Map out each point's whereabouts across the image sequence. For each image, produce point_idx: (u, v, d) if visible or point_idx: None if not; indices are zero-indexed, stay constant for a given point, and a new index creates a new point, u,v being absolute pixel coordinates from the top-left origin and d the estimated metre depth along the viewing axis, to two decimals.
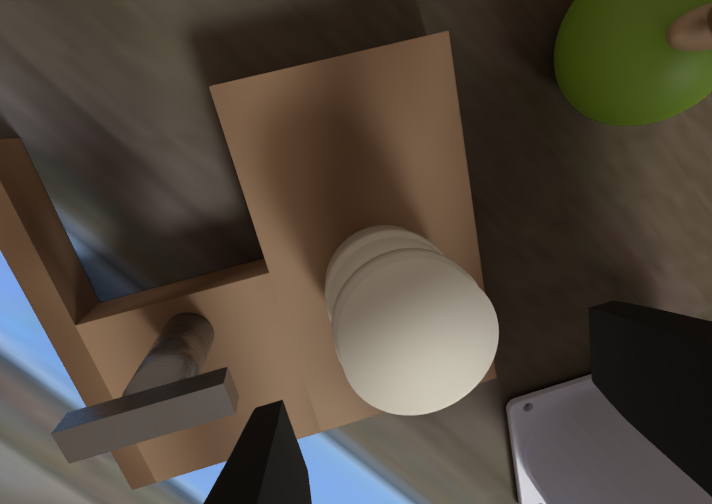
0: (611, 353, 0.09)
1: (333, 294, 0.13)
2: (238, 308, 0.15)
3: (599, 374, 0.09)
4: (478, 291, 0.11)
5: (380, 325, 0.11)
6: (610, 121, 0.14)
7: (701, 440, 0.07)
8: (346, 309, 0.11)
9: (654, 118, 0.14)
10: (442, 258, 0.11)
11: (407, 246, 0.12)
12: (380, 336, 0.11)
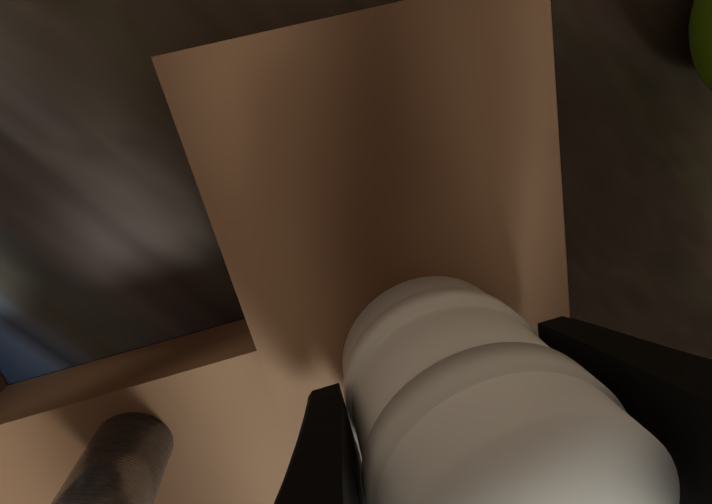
0: None
1: (361, 406, 0.08)
2: (210, 403, 0.10)
3: None
4: (653, 445, 0.06)
5: None
6: None
7: None
8: (396, 474, 0.06)
9: None
10: (569, 368, 0.06)
11: (491, 332, 0.07)
12: None
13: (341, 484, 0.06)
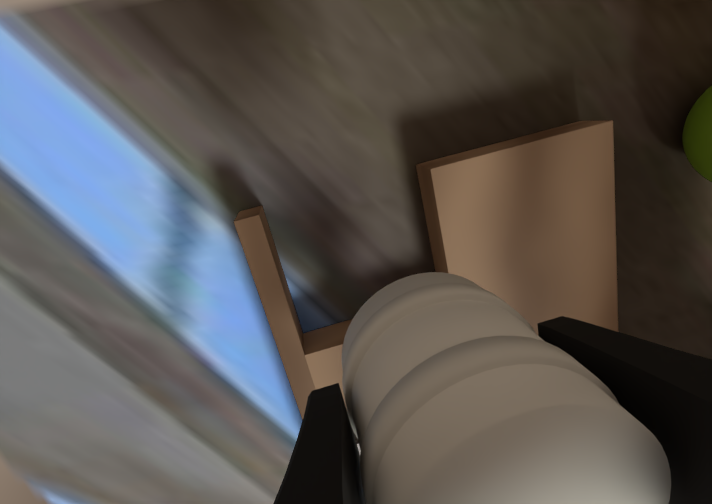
0: None
1: (359, 401, 0.08)
2: None
3: None
4: (643, 434, 0.06)
5: None
6: None
7: None
8: (391, 466, 0.06)
9: None
10: (561, 360, 0.06)
11: (486, 327, 0.07)
12: None
13: (340, 484, 0.06)
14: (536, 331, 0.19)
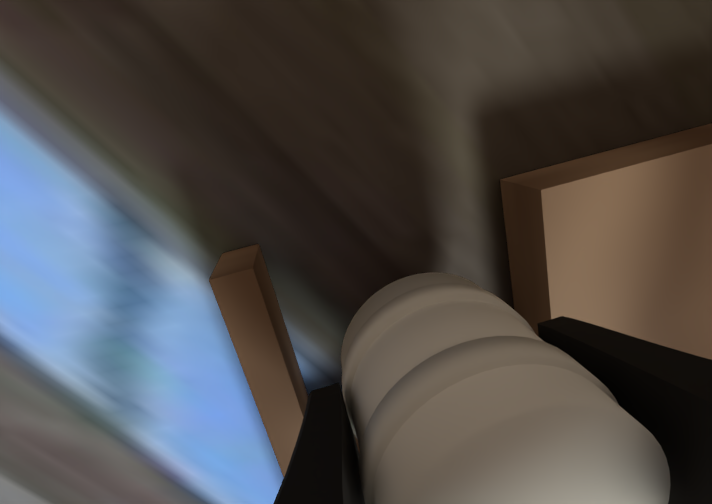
0: None
1: (358, 401, 0.08)
2: None
3: None
4: (642, 434, 0.06)
5: None
6: None
7: None
8: (391, 467, 0.06)
9: None
10: (560, 360, 0.06)
11: (485, 327, 0.07)
12: None
13: (341, 484, 0.06)
14: None
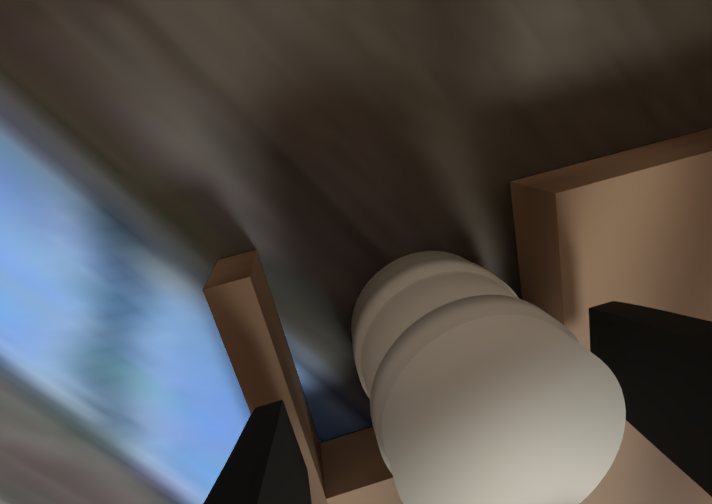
0: (611, 353, 0.09)
1: (369, 355, 0.09)
2: None
3: None
4: (601, 367, 0.07)
5: (454, 424, 0.07)
6: None
7: (701, 440, 0.07)
8: (398, 396, 0.07)
9: None
10: (536, 312, 0.08)
11: (476, 290, 0.09)
12: (453, 439, 0.07)
13: None
14: None
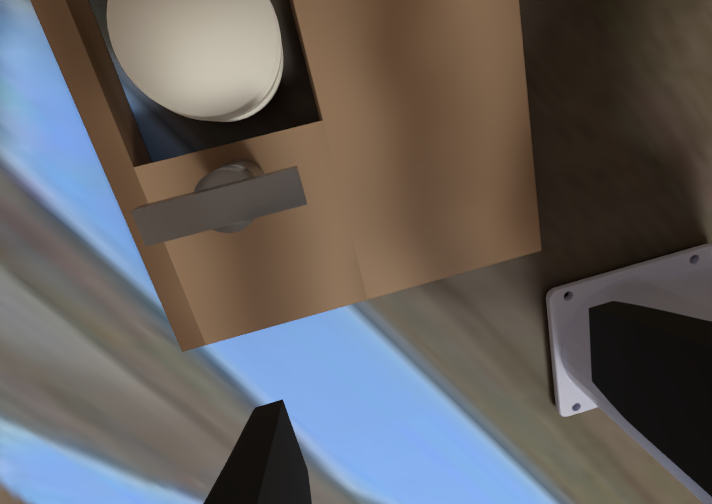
0: (611, 353, 0.09)
1: None
2: (291, 157, 0.15)
3: (599, 374, 0.09)
4: None
5: (144, 0, 0.11)
6: None
7: (701, 440, 0.07)
8: None
9: None
10: None
11: None
12: (146, 13, 0.11)
13: None
14: (429, 158, 0.16)
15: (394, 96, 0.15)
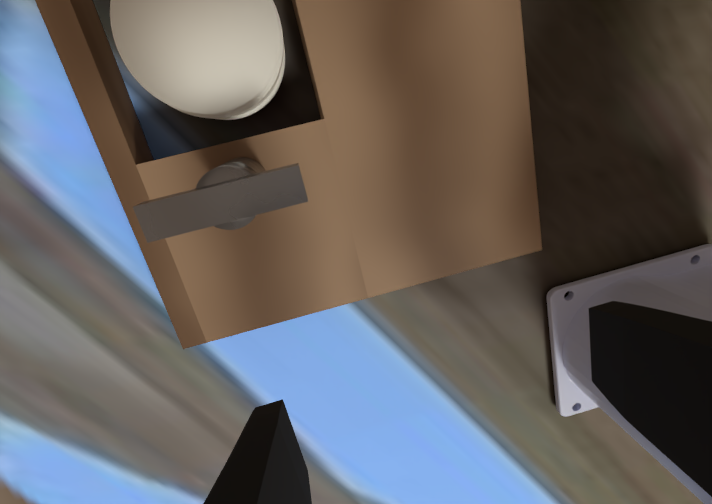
0: (611, 353, 0.09)
1: None
2: (293, 155, 0.15)
3: (599, 374, 0.09)
4: None
5: None
6: None
7: (701, 440, 0.07)
8: None
9: None
10: None
11: None
12: (149, 11, 0.11)
13: None
14: (430, 156, 0.16)
15: (395, 95, 0.15)
